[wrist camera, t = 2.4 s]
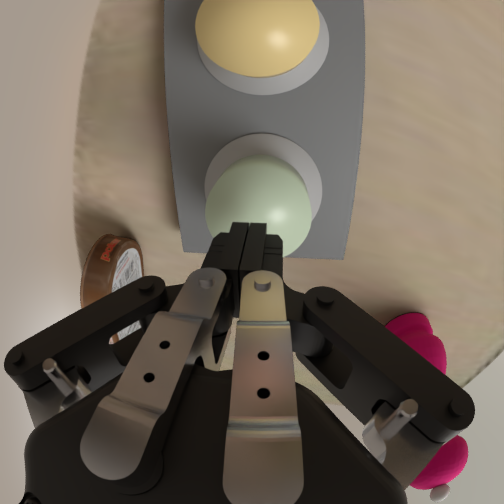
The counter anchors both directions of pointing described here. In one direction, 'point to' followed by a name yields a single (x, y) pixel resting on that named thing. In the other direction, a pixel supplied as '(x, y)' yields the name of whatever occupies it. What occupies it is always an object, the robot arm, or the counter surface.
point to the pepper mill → (432, 349)
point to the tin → (111, 272)
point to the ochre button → (257, 34)
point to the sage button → (261, 199)
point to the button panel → (268, 122)
